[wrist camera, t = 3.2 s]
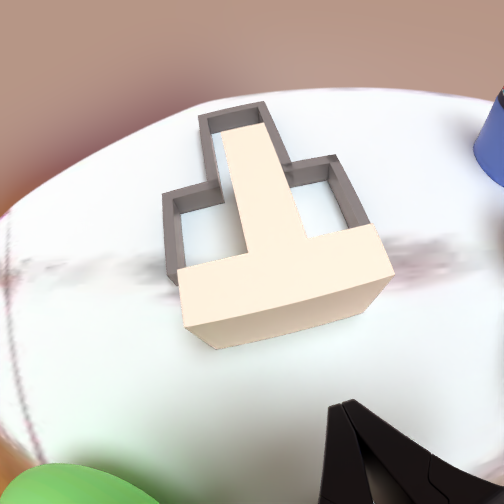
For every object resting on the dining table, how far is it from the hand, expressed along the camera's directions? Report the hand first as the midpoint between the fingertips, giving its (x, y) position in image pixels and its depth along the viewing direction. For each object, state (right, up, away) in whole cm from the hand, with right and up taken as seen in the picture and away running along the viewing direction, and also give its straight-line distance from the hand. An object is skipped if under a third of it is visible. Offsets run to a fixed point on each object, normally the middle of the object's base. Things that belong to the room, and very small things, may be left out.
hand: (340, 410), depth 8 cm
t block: (-1, +5, +18) cm, 19 cm away
